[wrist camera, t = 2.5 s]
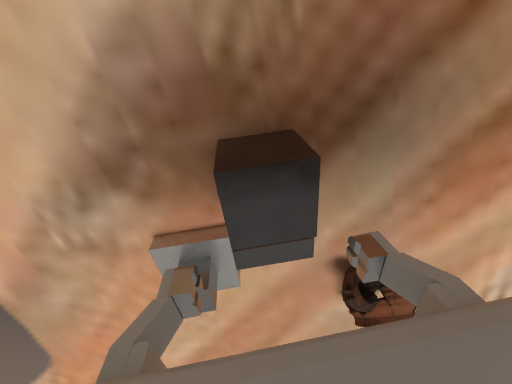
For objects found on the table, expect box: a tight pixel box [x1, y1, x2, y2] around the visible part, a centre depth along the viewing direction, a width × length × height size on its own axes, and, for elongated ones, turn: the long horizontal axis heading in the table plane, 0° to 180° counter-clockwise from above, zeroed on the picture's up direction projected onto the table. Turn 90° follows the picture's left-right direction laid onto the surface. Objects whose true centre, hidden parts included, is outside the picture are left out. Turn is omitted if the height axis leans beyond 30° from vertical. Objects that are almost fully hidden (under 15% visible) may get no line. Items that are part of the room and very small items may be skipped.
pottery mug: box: [342, 267, 417, 327], centre depth 28 cm, size 12×10×8 cm
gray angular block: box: [149, 225, 314, 313], centre depth 23 cm, size 17×8×6 cm, turn 96°
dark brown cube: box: [214, 130, 321, 250], centre depth 17 cm, size 7×7×6 cm
